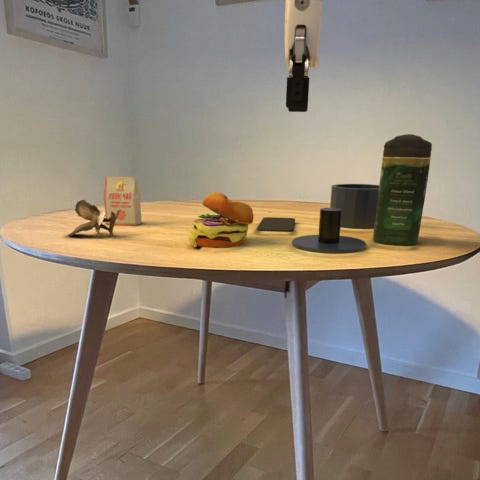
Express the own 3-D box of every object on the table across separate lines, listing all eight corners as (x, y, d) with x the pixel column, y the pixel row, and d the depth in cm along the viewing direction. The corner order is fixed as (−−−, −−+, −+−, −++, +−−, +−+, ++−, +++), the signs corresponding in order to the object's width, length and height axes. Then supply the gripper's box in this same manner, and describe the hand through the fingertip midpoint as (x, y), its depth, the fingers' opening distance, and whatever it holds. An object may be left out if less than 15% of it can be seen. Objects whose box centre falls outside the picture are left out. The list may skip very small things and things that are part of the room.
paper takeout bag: (113, 221, 106) (109, 175, 103) (141, 222, 105) (138, 176, 102) (106, 224, 103) (101, 177, 99) (135, 225, 102) (131, 177, 98)
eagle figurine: (121, 225, 95) (77, 216, 95) (118, 197, 90) (72, 188, 89) (110, 251, 91) (64, 242, 90) (107, 224, 85) (57, 215, 85)
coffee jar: (417, 250, 80) (434, 133, 73) (370, 246, 82) (382, 133, 76) (418, 240, 88) (434, 134, 82) (375, 236, 91) (387, 134, 84)
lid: (361, 242, 86) (364, 205, 84) (369, 258, 75) (374, 215, 72) (292, 240, 88) (294, 203, 85) (290, 255, 76) (292, 213, 74)
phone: (255, 229, 93) (263, 217, 107) (255, 233, 94) (263, 220, 107) (293, 230, 92) (295, 217, 106) (292, 234, 93) (295, 221, 106)
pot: (379, 223, 106) (383, 184, 103) (387, 232, 96) (392, 189, 93) (327, 221, 108) (330, 183, 105) (330, 230, 97) (333, 188, 94)
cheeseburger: (178, 241, 85) (189, 185, 83) (230, 250, 90) (242, 198, 88) (197, 251, 77) (209, 190, 74) (254, 261, 82) (267, 203, 79)
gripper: (334, -44, 59) (323, 106, 65) (328, -4, 75) (319, 113, 81) (274, -42, 59) (269, 105, 66) (281, -3, 75) (276, 112, 82)
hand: (297, 109), depth 73 cm, fingers open, 9 cm apart
